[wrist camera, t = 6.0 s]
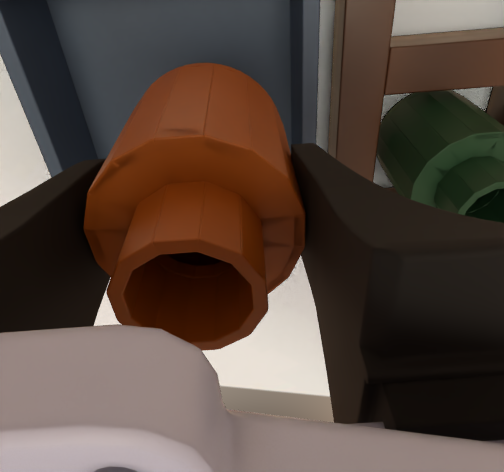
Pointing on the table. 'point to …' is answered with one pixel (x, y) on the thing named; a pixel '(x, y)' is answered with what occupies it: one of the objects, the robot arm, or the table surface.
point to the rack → (399, 73)
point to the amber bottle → (197, 207)
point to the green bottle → (445, 154)
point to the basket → (149, 62)
